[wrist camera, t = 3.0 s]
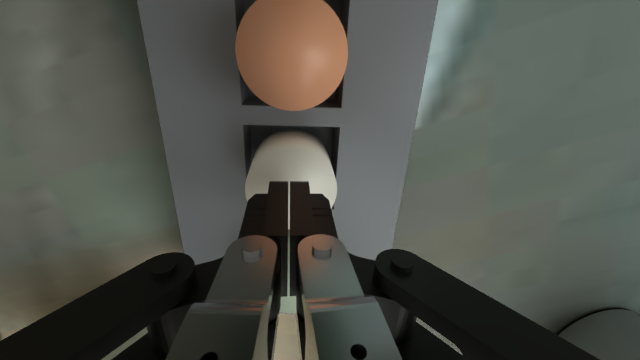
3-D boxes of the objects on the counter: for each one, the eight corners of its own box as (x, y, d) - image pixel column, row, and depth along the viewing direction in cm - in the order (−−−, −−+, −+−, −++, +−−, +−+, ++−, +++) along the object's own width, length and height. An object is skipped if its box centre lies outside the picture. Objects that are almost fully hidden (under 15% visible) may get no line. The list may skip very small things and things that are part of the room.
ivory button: (331, 129, 15) (340, 148, 12) (327, 198, 17) (334, 229, 14) (251, 127, 14) (242, 146, 12) (255, 198, 16) (247, 229, 13)
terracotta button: (340, 3, 13) (353, -8, 10) (333, 98, 14) (343, 112, 12) (244, -3, 12) (230, -16, 9) (249, 96, 14) (239, 109, 11)
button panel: (414, -10, 15) (442, -22, 12) (372, 260, 22) (383, 291, 19) (161, -28, 13) (128, -45, 11) (205, 263, 21) (192, 297, 18)
